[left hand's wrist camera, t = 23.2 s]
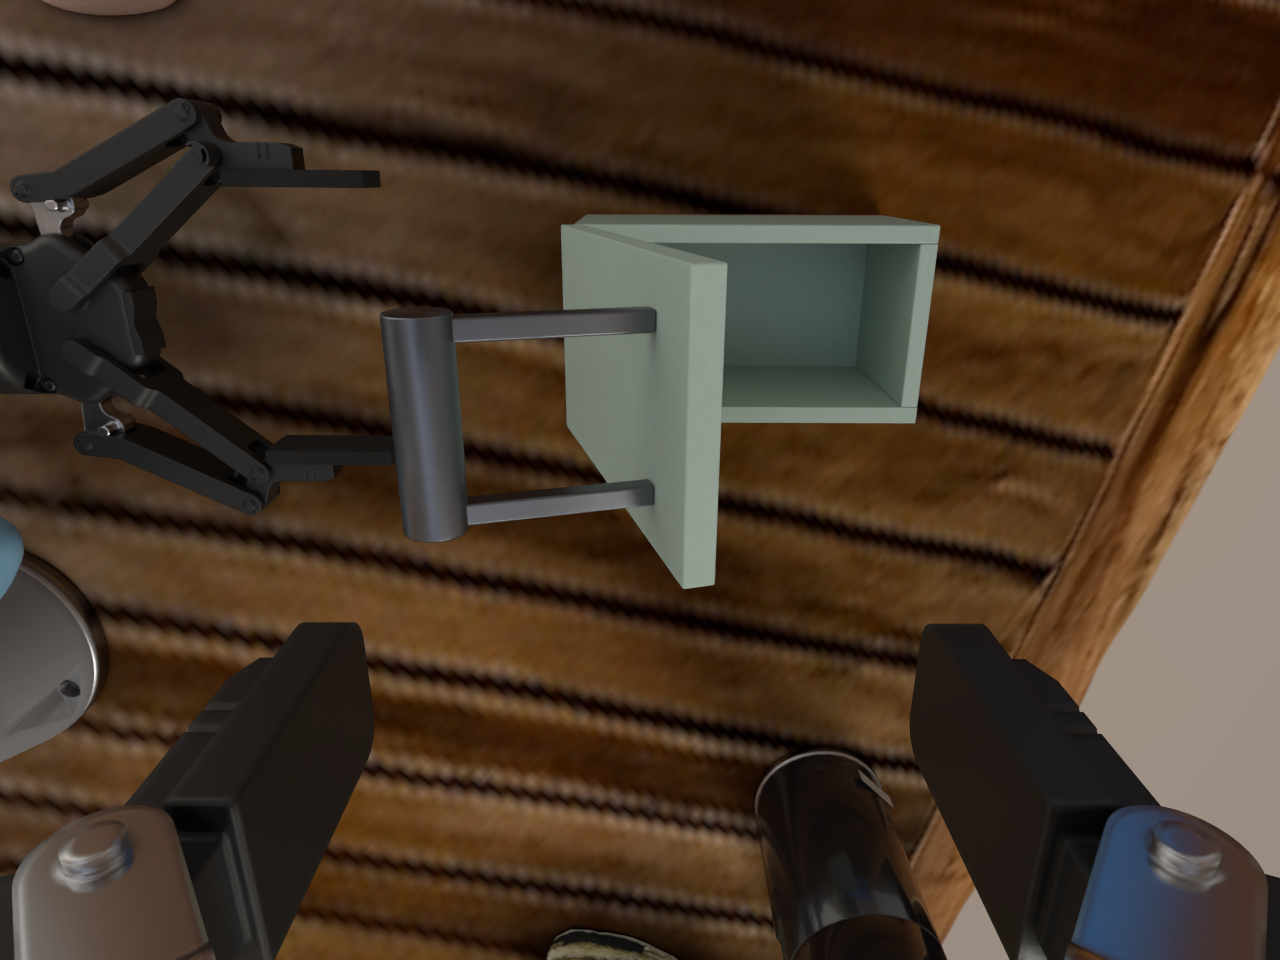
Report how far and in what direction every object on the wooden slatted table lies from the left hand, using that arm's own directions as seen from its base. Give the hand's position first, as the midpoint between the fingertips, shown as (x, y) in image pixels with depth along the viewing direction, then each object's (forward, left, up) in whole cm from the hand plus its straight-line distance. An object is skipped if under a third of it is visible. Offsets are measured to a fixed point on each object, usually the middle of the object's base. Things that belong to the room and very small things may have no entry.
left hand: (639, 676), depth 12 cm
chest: (+2, -5, -38) cm, 39 cm away
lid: (0, 0, -20) cm, 20 cm away
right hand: (-4, +12, -31) cm, 34 cm away
